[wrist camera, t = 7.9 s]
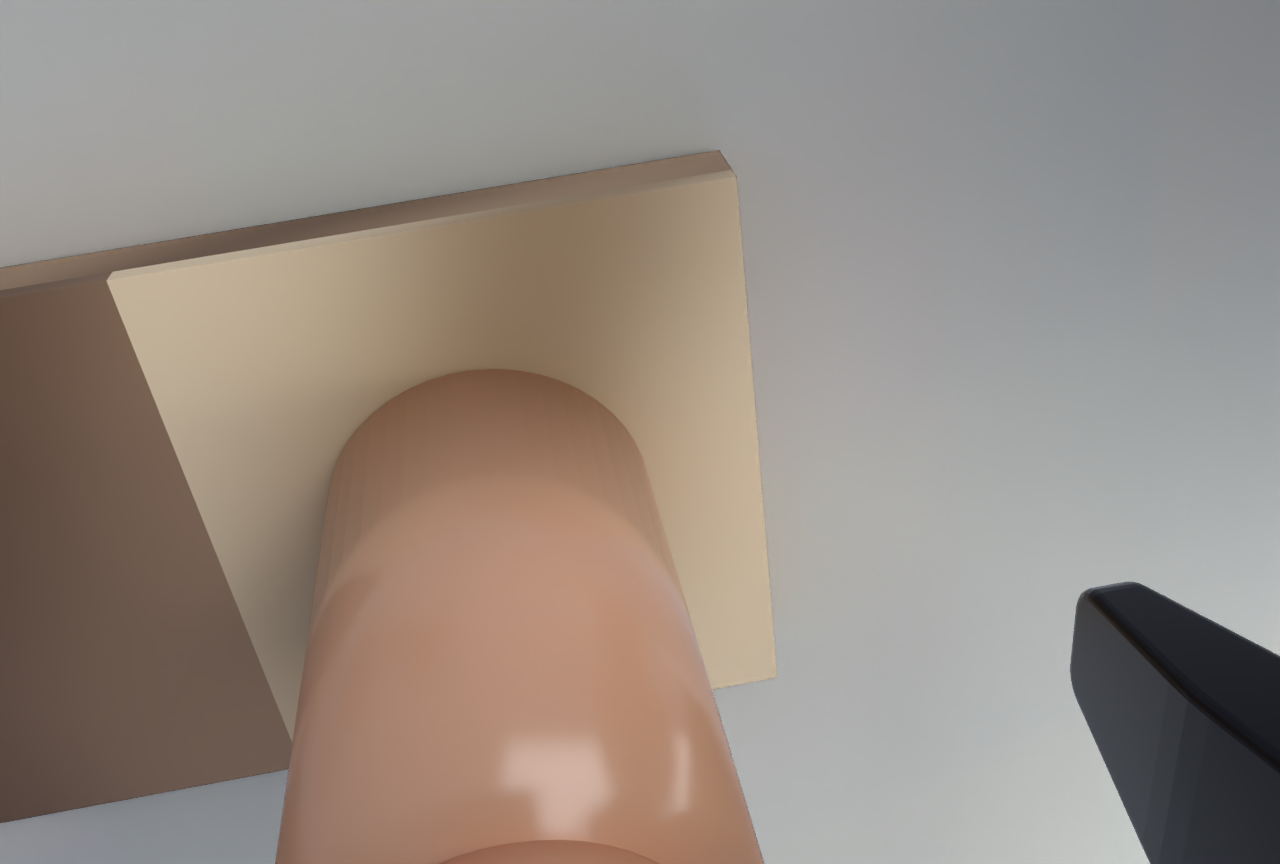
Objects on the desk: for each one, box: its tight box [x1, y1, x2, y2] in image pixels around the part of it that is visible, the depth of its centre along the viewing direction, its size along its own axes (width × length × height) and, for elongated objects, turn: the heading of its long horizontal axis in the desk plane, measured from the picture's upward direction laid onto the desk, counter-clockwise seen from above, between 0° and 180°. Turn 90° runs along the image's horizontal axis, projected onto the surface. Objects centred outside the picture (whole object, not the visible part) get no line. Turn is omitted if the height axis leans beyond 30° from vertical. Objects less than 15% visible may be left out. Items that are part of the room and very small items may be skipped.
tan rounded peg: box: [275, 369, 764, 864], centre depth 8 cm, size 3×3×7 cm
